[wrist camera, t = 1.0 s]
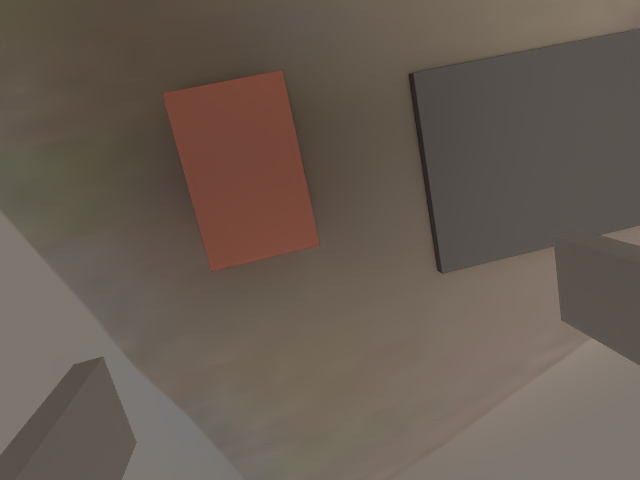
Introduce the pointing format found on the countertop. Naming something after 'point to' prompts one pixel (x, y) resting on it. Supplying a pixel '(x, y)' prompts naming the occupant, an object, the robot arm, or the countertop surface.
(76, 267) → the countertop surface
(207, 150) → the card deck box
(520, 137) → the rubber mat
